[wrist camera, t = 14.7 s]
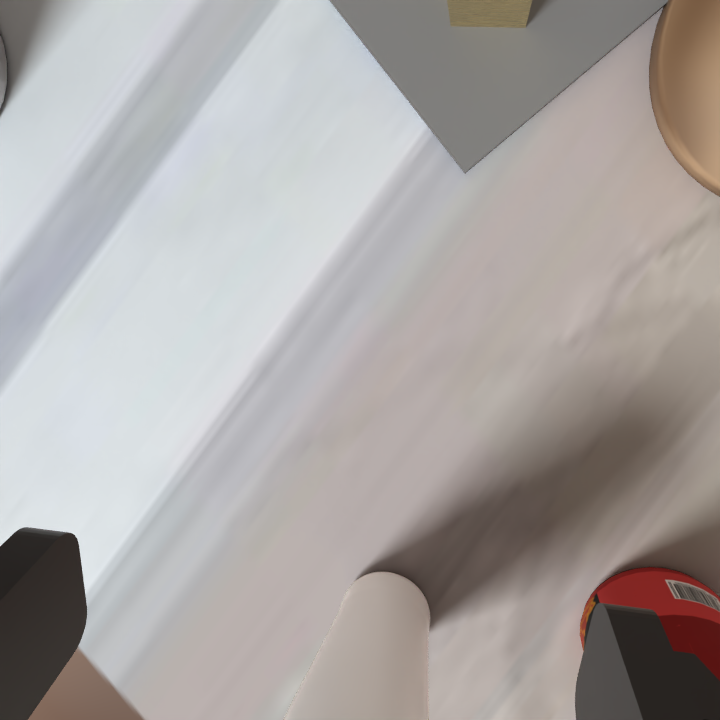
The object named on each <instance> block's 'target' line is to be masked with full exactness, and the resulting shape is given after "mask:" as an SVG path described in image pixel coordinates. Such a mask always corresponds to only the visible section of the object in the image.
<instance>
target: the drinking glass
mask: <svg viewBox="0 0 720 720" xmlns="http://www.w3.org/2000/svg"><path fill="white" fill-rule="evenodd" d="M429 629H430V610H429V606H428V603H427V600H426V598H425V596H424V595H423V593H422V592H421V590H420V589H419V588H418V587H417V586H416V585H415V584H414V583H413V582H411V581H410V580H409V579H407V578H405V577H403V576H401V575H398V574H395V573H391V572H373V573H369V574H367V575H364V576H362V577H360V578H359V579H357V580H356V581H355V582H354V583H353V584H352V585H351V586H350V587H349V588H348V590H347V591H346V593H345V595H344V597H343V600H342V603H341V606H340V608H339V611H338V613H337V615H336V617H335V619H334V621H333V623H332V625H331V627H330V629H329V631H328V633H327V635H326V637H325V639H324V641H323V643H322V645H321V646H320V648H319V650H318V652H317V654H316V656H315V658H314V660H313V662H312V664H311V666H310V668H309V670H308V671H307V673H306V675H305V677H304V679H303V681H302V683H301V685H300V687H299V689H298V691H297V692H296V694H295V696H294V698H293V700H292V702H291V704H290V706H289V708H288V710H287V713H286V715H285V717H284V719H283V720H429V676H428V637H429Z"/></svg>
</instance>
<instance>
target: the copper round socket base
mask: <svg viewBox="0 0 720 720" xmlns="http://www.w3.org/2000/svg"><path fill="white" fill-rule="evenodd" d="M649 88H650V95H651V102H652V108H653V112H654V115H655V118H656V122H657V125H658V128H659V130H660V132H661V134H662V137H663V139H664V141H665V143H666V145H667V146H668V148H669V150H670V151H671V153H672V154H673V156H674V157H675V159H676V160H677V161H678V163H679V164H680V165H681V166H682V167H683V168H684V169H685V170H686V172H687V173H688V174H689V175H690V176H691V177H693V178H694V179H695V180H696V181H697V182H699V183H700V184H701V185H702V186H703V187H705V188H707V189H708V190H710V191H711V192H713V193H715V194H716V195H718V196H719V197H720V0H668V2H667V3H666V4H665V5H664V7H663V10H662V13H661V15H660V18H659V21H658V23H657V27H656V31H655V35H654V39H653V43H652V48H651V56H650V65H649Z"/></svg>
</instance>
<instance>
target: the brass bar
mask: <svg viewBox="0 0 720 720" xmlns="http://www.w3.org/2000/svg"><path fill="white" fill-rule="evenodd" d="M447 3H448V10H449V17H450V24H451V26H461V27H509V28H526V24H527V20H528V16H529V11H530V7H531V3H532V0H447Z"/></svg>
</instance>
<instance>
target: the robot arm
mask: <svg viewBox="0 0 720 720" xmlns="http://www.w3.org/2000/svg"><path fill="white" fill-rule="evenodd" d="M6 85H7V60H6V55H5V49H4V44H3V41H2V38H1V35H0V108H1V105H2V103H3V100H4V96H5V90H6ZM86 619H87V605H86V597H85V589H84V582H83V574H82V566H81V558H80V551H79V544H78V540H77V538H76V537H75V535H74V534H72V533H67V532H60V531H52V530H44V529H36V528H28V527H25V528H21V529H19V530H18V531H16V532H15V533H14V534H13V535H12V536H11V537H10V538H9V539H8V540H7V541H6V542H5V543H3V544H2V545H1V546H0V720H28V718H29V717H30V715H31V714H32V712H33V711H34V710H35V708H36V707H37V705H38V704H39V703H40V701H41V700H42V698H43V697H44V695H45V694H46V692H47V691H48V690H49V688H50V687H51V685H52V684H53V682H54V681H55V680H56V678H57V677H58V675H59V674H60V672H61V671H62V669H63V668H64V667H65V665H66V663H67V662H68V661H69V659H70V658H71V657H72V655H73V654H74V652H75V650H76V649H77V647H78V645H79V643H80V641H81V638H82V635H83V632H84V629H85V625H86ZM575 710H576V720H720V681H719V679H718V678H717V677H716V676H715V675H714V674H713V673H712V672H711V671H710V670H709V669H708V668H707V667H706V666H705V664H704V663H703V662H702V661H701V660H700V659H699V658H698V657H697V656H696V655H695V654H693V653H685V652H678V651H673V649H672V646H671V644H670V642H669V639H668V637H667V635H666V632H665V630H664V628H663V626H662V623H661V621H660V619H659V617H658V615H657V614H656V612H655V611H654V610H651V609H645V608H637V607H629V606H622V605H614V604H606V603H598V604H597V605H596V606H595V609H594V611H593V615H592V619H591V623H590V627H589V631H588V635H587V640H586V644H585V648H584V652H583V656H582V661H581V665H580V669H579V673H578V677H577V683H576V693H575Z"/></svg>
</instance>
